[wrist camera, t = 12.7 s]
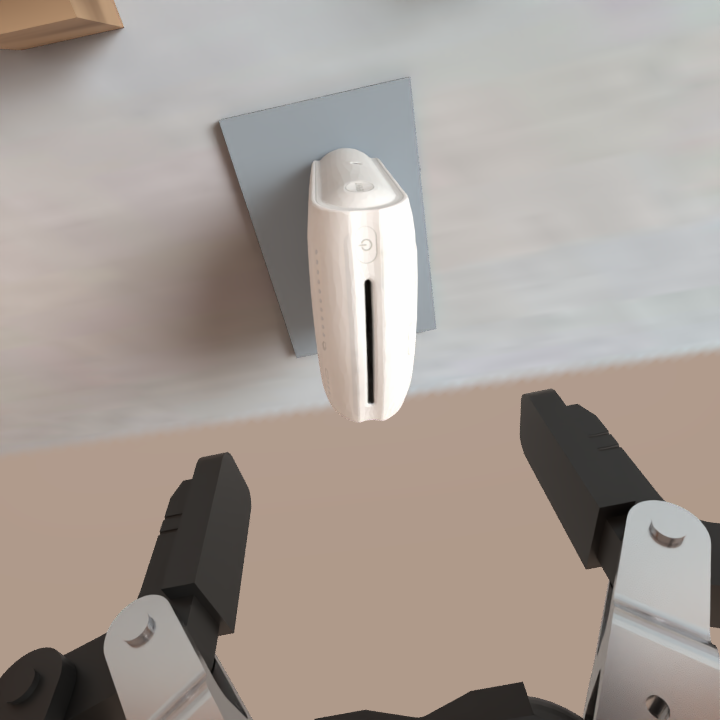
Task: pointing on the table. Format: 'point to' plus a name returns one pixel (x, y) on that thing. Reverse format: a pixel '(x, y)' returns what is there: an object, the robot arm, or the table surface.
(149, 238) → the table surface
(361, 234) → the photo printer
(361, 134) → the slate mat
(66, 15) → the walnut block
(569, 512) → the robot arm
